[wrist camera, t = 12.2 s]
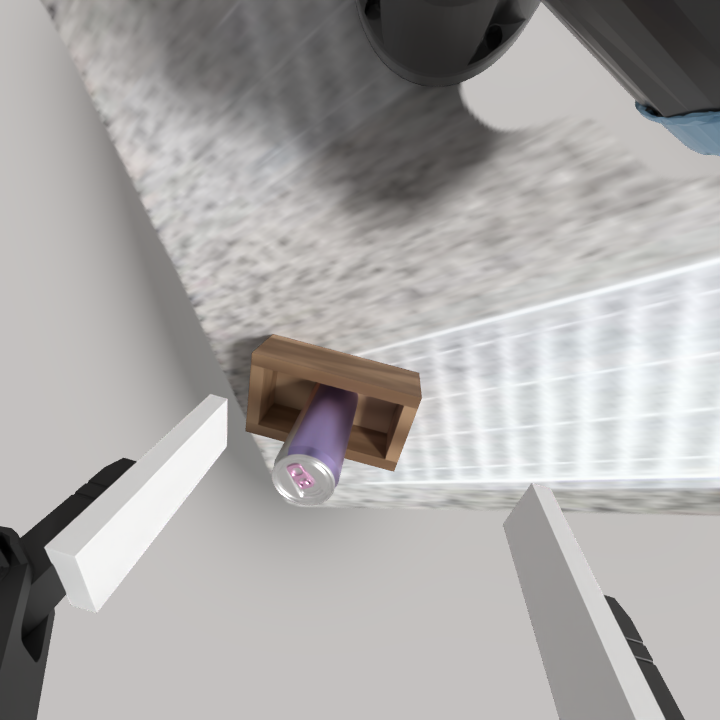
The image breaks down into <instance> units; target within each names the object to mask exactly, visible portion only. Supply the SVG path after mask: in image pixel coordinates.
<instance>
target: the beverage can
mask: <svg viewBox="0 0 720 720" xmlns="http://www.w3.org/2000/svg"><path fill="white" fill-rule="evenodd" d="M357 404H358V393H355V392H351V391H348V390H344V389H340V388H336V387H333V386H329V385H325V384H322V383H318V382H317V383H316V385H315V386H314V388H313V390H312V392H311V394H310V396H309V397H308V399H307V401H306V403H305V405H304V407H303V409H302V411H301V412H300V414H299V416H298V418H297V420H296V422H295V424H294V425H293V427H292V429H291V431H290V433H289V435H288V437H287V439H286V440H285V442H284V444H283V446H282V448H281V450H280V452H279V454H278V455H277V457H276V459H275V463H274V468H273V470H272V481H273V484H274V486H275V488H276V489H277V491H278V492H279V493H280V494H281V495H282V496H283V497H285V498H286V499H288V500H290V501H292V502H294V503H297V504H301V505H317V504H320V503H323V502H325V501H326V500H328V499H329V498H330V497H331V495H332V494H333V492H334V489H335V487H336V486H337V484H338V481H339V477H340V473H341V469H342V465H343V461H344V457H345V453H346V449H347V445H348V441H349V437H350V433H351V429H352V424H353V420H354V416H355V412H356V408H357Z"/></svg>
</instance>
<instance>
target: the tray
mask: <svg viewBox="0 0 720 720" xmlns="http://www.w3.org/2000/svg"><path fill="white" fill-rule="evenodd" d="M317 382H318V383H322V384H325V385H329V386H333V387H336V388H340V389H344V390H348V391H351V392H355V393H358V404H357V408H356V412H355V416H354V420H353V424H352V429H351V433H350V437H349V441H348V445H347V449H346V453H345V457H344V458H346V459H349V460H353V461H357V462H360V463H364V464H368V465H371V466H375V467H379V468H382V469H386V470H390V471H393V472H394V470H395V467H396V465H397V462H398V459H399V457H400V454H401V451H402V449H403V446H404V444H405V441H406V438H407V436H408V433H409V430H410V428H411V425H412V422H413V420H414V417H415V415H416V412H417V409H418V407H419V404H420V401H421V399H422V395H421V386H420V377H419V373H417V372H413V371H410V370H406V369H402V368H398V367H395V366H391V365H387V364H383V363H380V362H376V361H372V360H368V359H365V358H361V357H357V356H353V355H350V354H346V353H342V352H338V351H334V350H331V349H327V348H323V347H319V346H316V345H312V344H308V343H304V342H301V341H297V340H293V339H289V338H286V337H282V336H278V335H274V334H273V335H272V336H271V337H269V338H268V339H267V340H266V341H265V342H264V343H262V344H261V345H260V346H259V347H258V348H257V349H256V350H254V351H253V352H252V359H251V371H250V383H249V395H248V407H247V419H246V431H247V432H250V433H254V434H258V435H261V436H265V437H269V438H272V439H276V440H280V441H283V442H285V440H286V439H287V437H288V435H289V433H290V431H291V429H292V427H293V425H294V424H295V422H296V420H297V418H298V416H299V414H300V412H301V411H302V409H303V407H304V405H305V403H306V401H307V399H308V397H309V396H310V394H311V392H312V390H313V388H314V386H315V385H316V383H317Z"/></svg>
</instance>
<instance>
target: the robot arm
mask: <svg viewBox="0 0 720 720" xmlns="http://www.w3.org/2000/svg"><path fill="white" fill-rule="evenodd" d="M540 2H542V3H543V4H544V5H545V6H546V7H547V8H548V9H549V10H550V11H551V12H552V13H553V14H554V15H555V16H556V17H557V18H558V19H559V21H560V22H561V23H562V24H563V25H564V26H565V27H566V28H567V29H568V30H569V31H570V32H571V33H572V34H573V35H574V36H575V37H576V38H577V39H578V40H579V41H580V43H581V44H582V45H583V46H584V47H585V48H586V49H587V50H588V51H589V52H590V53H591V54H592V55H593V56H594V57H595V58H596V59H597V60H598V61H599V62H600V64H601V65H602V66H603V67H604V68H605V69H606V70H607V71H608V72H609V73H610V74H611V75H612V76H613V77H614V78H615V79H616V80H617V81H618V82H619V83H620V84H621V85H622V87H624V89H625V90H626V91H627V92H628V93H629V94H630V95H631V96H632V97H633V98H634V99H635V101H636V102H635V106H636V109H637V110H638V111H639V112H640V113H641V115H643V116H644V117H646V118H647V119H649V120H651V121H655V122H658V123H661V124H662V125H663V126H664V127H665V128H666V129H668V130H669V131H670V132H671V133H672V134H673V135H674V136H675V137H676V138H678V139H679V140H680V141H681V142H682V143H683V144H684V145H685V146H687V147H688V148H690V149H691V150H693V151H695V152H698V153H700V154H704V155H717V156H720V0H356V5H357V9H358V13H359V17H360V20H361V23H362V26H363V29H364V31H365V34H366V36H367V38H368V40H369V42H370V44H371V45H372V47H373V49H374V50H375V52H376V53H377V55H378V56H379V57H380V59H381V60H382V61H383V62H384V63H385V64H386V65H387V66H388V67H389V68H390V69H391V70H392V71H394V72H395V73H396V74H398V75H399V76H401V77H403V78H404V79H406V80H408V81H411V82H413V83H416V84H420V85H425V86H448V85H453V84H457V83H460V82H463V81H466V80H468V79H470V78H472V77H474V76H476V75H478V74H479V73H481V72H483V71H484V70H486V69H487V68H488V67H490V66H491V65H492V64H494V63H495V62H496V61H497V60H498V59H499V58H500V57H501V56H502V55H503V54H504V53H505V52H506V51H507V50H508V49H509V48H510V47H511V46H512V45H513V43H514V42H515V41H516V40H517V38H518V37H519V36H520V34H521V32H522V31H523V30H524V28H525V26H526V25H527V23H528V22H529V20H530V19H531V17H532V16H533V14H534V12H535V11H536V9H537V8H538V6H539V4H540ZM227 400H228V399H227V398H223V397H219V396H216V395H212V394H210V395H209V396H208V397H207V398H206V399H205V400H203V401H202V402H201V403H200V404H199V405H198V406H197V407H196V408H195V409H194V410H193V411H192V412H190V413H189V414H188V415H187V416H186V417H185V418H184V419H183V420H182V421H181V422H180V423H178V425H176V426H175V427H174V428H173V429H172V430H171V431H170V432H169V433H168V434H167V435H165V436H164V437H163V438H162V439H161V440H160V441H159V442H158V443H157V444H156V445H155V446H153V448H151V449H150V450H149V451H148V452H147V453H146V454H145V455H144V456H143V457H142V458H140V459H139V460H138V461H137V462H136V461H133V460H130V459H126V458H122V459H120V460H118V461H116V462H114V463H112V464H110V465H108V466H106V467H104V468H103V469H102V470H101V471H100V472H98V473H97V474H96V475H95V476H94V477H93V478H91V479H90V480H89V482H88V483H87V484H84V485H83V486H82V487H81V488H79V489H78V490H77V491H76V492H75V494H74V495H71V496H70V497H69V498H68V499H66V500H65V501H64V502H63V503H62V504H60V505H59V506H58V507H57V508H56V509H55V510H53V511H52V512H51V513H50V514H48V515H47V516H46V517H45V518H44V519H43V520H41V521H40V522H39V523H38V524H37V525H35V526H34V527H33V528H32V529H31V530H30V531H28V532H27V533H26V534H25V535H24V536H22V537H21V538H20V537H19V535H18V534H17V533H16V532H15V531H14V530H13V529H12V528H7V527H1V526H0V720H36V719H37V714H38V708H39V701H40V696H41V691H42V685H43V679H44V673H45V668H46V662H47V656H48V650H49V644H50V639H51V633H52V627H53V621H54V616H55V610H54V607H55V606H56V605H57V604H58V603H59V602H60V601H61V600H62V598H63V597H64V596H65V595H66V596H67V598H68V600H69V603H70V605H72V606H75V607H78V608H82V609H85V610H88V611H91V612H95V613H97V612H98V611H99V610H100V608H101V607H102V606H103V604H104V603H105V602H106V600H107V599H108V598H109V597H110V595H111V594H112V593H113V592H114V590H115V589H116V588H117V586H118V585H119V584H120V583H121V581H122V580H123V579H124V577H125V576H126V575H127V574H128V572H129V571H130V570H131V568H132V567H133V566H134V564H135V563H136V562H137V561H138V559H139V558H140V557H141V556H142V554H143V553H144V552H145V550H146V549H147V548H148V546H149V545H150V544H151V543H152V541H153V540H154V539H155V538H156V536H157V535H158V534H159V533H160V531H161V530H162V529H163V527H164V526H165V525H166V524H167V522H168V521H169V520H170V518H171V517H172V516H173V515H174V513H175V512H176V511H177V509H178V508H179V507H180V506H181V504H182V503H183V502H184V500H185V499H186V498H187V496H188V495H189V494H190V493H191V491H192V490H193V489H194V488H195V486H196V485H197V484H198V482H199V481H200V480H201V479H202V477H203V476H204V475H205V473H206V472H207V471H208V470H209V468H210V467H211V466H212V464H213V463H214V462H215V461H216V459H217V458H218V457H219V455H220V454H221V453H222V452H223V450H224V449H225V448H226V446H227V402H228V401H227ZM503 526H504V530H505V533H506V536H507V540H508V544H509V547H510V550H511V554H512V557H513V561H514V564H515V568H516V571H517V574H518V578H519V581H520V584H521V588H522V592H523V595H524V599H525V602H526V605H527V609H528V612H529V616H530V619H531V623H532V626H533V630H534V633H535V636H536V640H537V643H538V647H539V650H540V653H541V657H542V661H543V664H544V667H545V671H546V674H547V678H548V681H549V685H550V688H551V692H552V695H553V699H554V702H555V705H556V709H557V712H558V715H559V719H560V720H685V719H684V717H683V715H682V714H681V712H680V710H679V708H678V706H677V704H676V702H675V700H674V699H673V697H672V695H671V693H670V691H669V689H668V687H667V686H666V684H665V682H664V680H663V678H662V676H661V674H660V672H659V671H658V669H657V667H656V666H655V665H654V664H653V659H652V658H651V656H650V654H649V652H648V650H647V648H646V646H644V645H643V641H642V639H641V637H640V635H639V633H638V631H637V630H636V628H635V626H634V624H633V622H632V620H631V619H630V617H629V616H628V615H627V614H626V612H625V611H624V610H623V608H622V607H621V606H620V605H619V603H618V602H617V601H616V600H615V598H612V597H609V596H605V595H603V593H602V591H601V589H600V587H599V585H598V583H597V581H596V579H595V577H594V575H593V573H592V571H591V569H590V567H589V565H588V563H587V561H586V559H585V557H584V555H583V553H582V551H581V549H580V547H579V545H578V543H577V541H576V539H575V537H574V535H573V533H572V531H571V529H570V527H569V525H568V523H567V521H566V519H565V517H564V515H563V513H562V511H561V509H560V507H559V505H558V503H557V501H556V499H555V497H554V495H553V493H552V491H551V489H550V488H548V487H544V486H541V485H537V484H533V483H532V484H531V485H530V486H529V488H528V489H527V491H526V492H525V494H524V495H523V496H522V498H521V499H520V501H519V502H518V503H517V505H516V506H515V508H514V509H513V511H512V512H511V513H510V515H509V516H508V518H507V519H506V521H505V522H504V524H503Z"/></svg>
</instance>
